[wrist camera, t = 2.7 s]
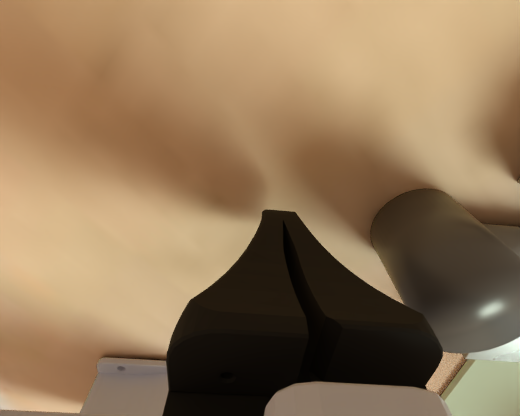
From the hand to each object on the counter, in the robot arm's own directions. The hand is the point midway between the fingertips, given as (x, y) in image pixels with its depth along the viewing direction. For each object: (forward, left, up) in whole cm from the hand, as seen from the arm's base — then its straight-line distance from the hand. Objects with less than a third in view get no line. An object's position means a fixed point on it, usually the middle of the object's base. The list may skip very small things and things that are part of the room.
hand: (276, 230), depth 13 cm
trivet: (+17, -12, -1) cm, 21 cm away
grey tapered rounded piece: (+9, 0, -1) cm, 9 cm away
